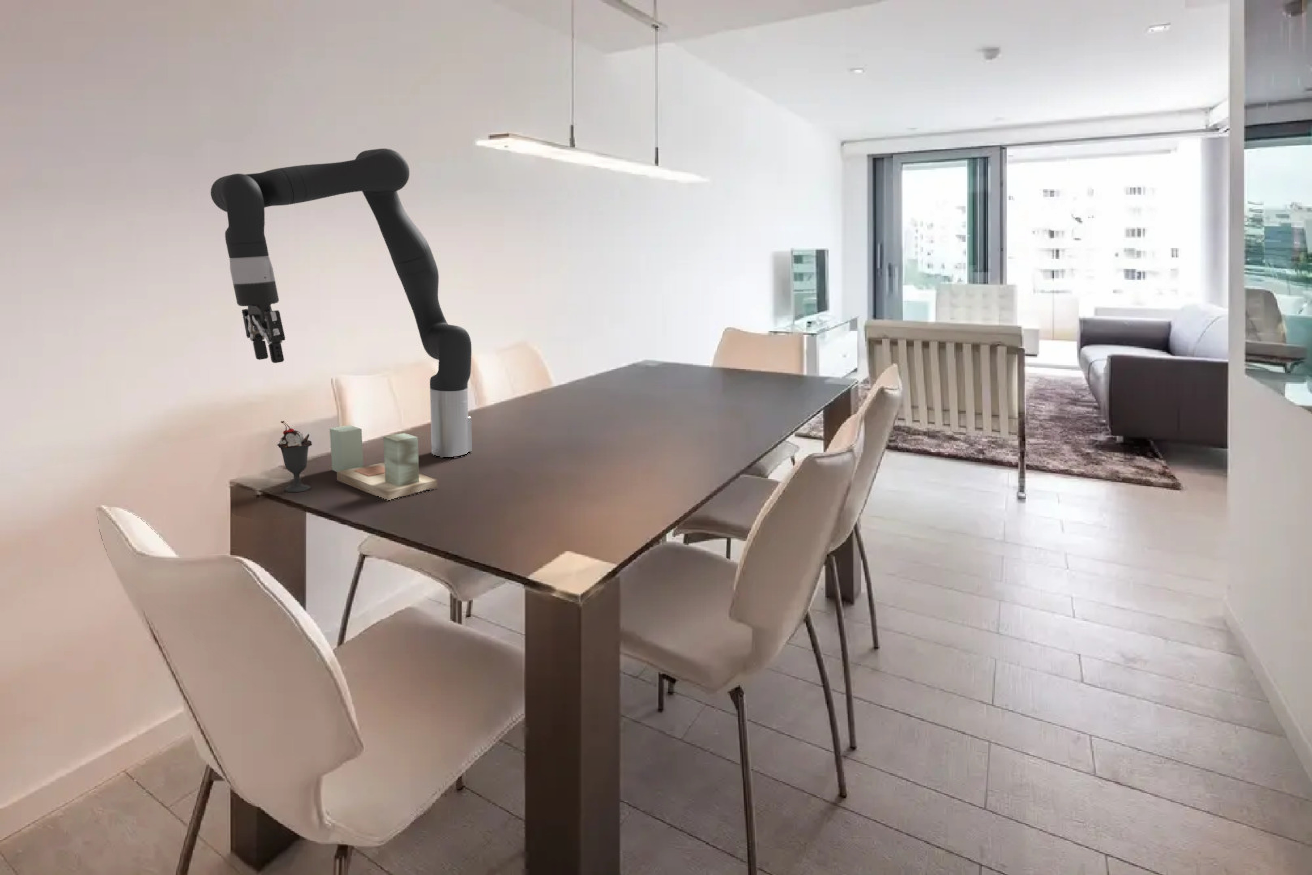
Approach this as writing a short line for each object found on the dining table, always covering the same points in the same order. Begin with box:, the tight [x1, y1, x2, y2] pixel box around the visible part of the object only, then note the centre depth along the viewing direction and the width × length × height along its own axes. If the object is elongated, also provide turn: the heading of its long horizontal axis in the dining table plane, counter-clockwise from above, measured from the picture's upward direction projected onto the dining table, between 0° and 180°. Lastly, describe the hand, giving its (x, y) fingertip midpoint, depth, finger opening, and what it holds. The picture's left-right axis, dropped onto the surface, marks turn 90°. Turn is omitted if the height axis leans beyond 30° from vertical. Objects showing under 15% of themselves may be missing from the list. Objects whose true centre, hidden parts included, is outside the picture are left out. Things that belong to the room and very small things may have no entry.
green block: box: [329, 424, 364, 473], centre depth 171 cm, size 5×5×10 cm
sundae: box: [276, 420, 313, 493], centre depth 155 cm, size 7×7×15 cm
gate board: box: [336, 432, 438, 501], centre depth 161 cm, size 12×20×12 cm, turn 52°
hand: (270, 360), depth 151 cm, fingers open, 8 cm apart
